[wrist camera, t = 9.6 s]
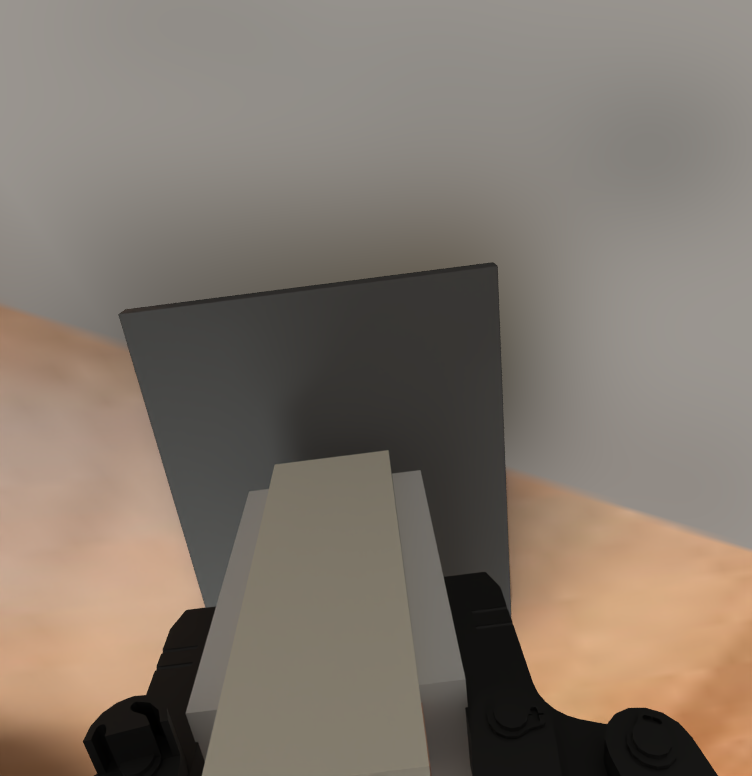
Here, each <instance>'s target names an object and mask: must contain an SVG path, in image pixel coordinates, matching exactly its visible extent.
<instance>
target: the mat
mask: <svg viewBox="0 0 752 776" xmlns="http://www.w3.org/2000/svg"><path fill="white" fill-rule="evenodd" d="M119 318H120V321H121V324H122V328H123V331H124V334H125V338H126V341H127V345H128V348H129V352H130V355H131V358H132V362H133V365H134V368H135V372H136V375H137V378H138V382H139V385H140V389H141V392H142V395H143V399H144V402H145V405H146V409H147V412H148V415H149V419H150V422H151V426H152V429H153V432H154V436H155V439H156V442H157V446H158V449H159V453H160V456H161V459H162V463H163V466H164V469H165V473H166V476H167V479H168V483H169V486H170V490H171V493H172V496H173V500H174V503H175V506H176V510H177V513H178V516H179V520H180V523H181V527H182V530H183V533H184V537H185V540H186V543H187V547H188V550H189V553H190V557H191V560H192V564H193V567H194V570H195V574H196V577H197V580H198V584H199V587H200V590H201V594H202V597H203V601H204V604H205V607H206V608H207V607H215V606H216V605H217V602H218V598H219V595H220V591H221V588H222V584H223V581H224V577H225V574H226V570H227V567H228V563H229V560H230V556H231V553H232V549H233V546H234V542H235V539H236V535H237V532H238V528H239V525H240V521H241V518H242V515H243V511H244V508H245V504H246V501H247V497H248V494H249V491H257V490H265V489H269V486H270V482H271V478H272V474H273V469H274V465H275V464H283V463H291V462H299V461H307V460H315V459H323V458H330V457H338V456H346V455H354V454H362V453H370V452H378V451H386V450H389V458H390V466H391V474H393V473H401V472H409V471H417V470H421V475H422V479H423V484H424V489H425V493H426V498H427V503H428V507H429V512H430V517H431V521H432V526H433V531H434V535H435V540H436V544H437V549H438V554H439V558H440V563H441V568H442V572H443V577H446V576H454V575H462V574H470V573H478V572H486V573H487V574H488V575H489V576H490V577H491V578H492V579H493V580H494V581H495V582H496V583H497V584H498V585H499V586H500V587H501V590H502V593H503V596H504V599H505V602H506V605H507V609H508V611H509V614H510V617H511V599H510V573H509V547H508V522H507V496H506V471H505V447H504V422H503V421H504V420H503V395H502V370H501V347H500V345H501V344H500V319H499V292H498V267H497V265H496V264H494V263H485V264H477V265H470V266H461V267H454V268H446V269H438V270H430V271H422V272H414V273H407V274H399V275H391V276H384V277H376V278H368V279H360V280H353V281H344V282H337V283H329V284H321V285H314V286H305V287H297V288H290V289H283V290H274V291H266V292H259V293H252V294H244V295H235V296H227V297H219V298H212V299H204V300H196V301H189V302H181V303H173V304H165V305H157V306H150V307H141V308H134V309H127V310H124V311H123V312H121V313H120V314H119ZM392 481H393V478H392ZM393 489H394V486H393ZM394 497H395V494H394ZM395 505H396V502H395ZM396 512H397V510H396ZM397 520H398V518H397ZM398 528H399V526H398ZM399 536H400V534H399ZM400 543H401V542H400ZM401 551H402V550H401ZM402 559H403V558H402ZM403 567H404V566H403ZM404 575H405V574H404ZM407 598H408V597H407ZM408 606H409V605H408Z"/></svg>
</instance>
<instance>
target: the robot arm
mask: <svg viewBox="0 0 752 776" xmlns="http://www.w3.org/2000/svg"><path fill="white" fill-rule="evenodd" d="M392 478H393V486H394V494H395V502H396V510H397V518H398V526H399V534H400V542H401V550H402V558H403V566H404V574H405V582H406V590H407V597H408V605H409V613H410V621H411V629H412V637H413V644H414V652H415V660H416V668H417V676H418V683H419V691H420V699H421V703H422V706H423V713H424V721H425V728H426V736H427V744H428V751H429V759H430V767H431V775H432V776H718V775H717V774H716V772H715V771H714V769H713V768H712V766H711V765H710V763H709V762H708V760H707V759H706V757H705V756H704V754H703V753H702V751H701V750H700V748H699V747H698V745H697V744H696V742H695V741H694V740H693V738H692V737H691V736H690V735H689V733H688V732H687V731H686V730H685V729H684V728H683V727H682V726H681V725H680V724H679V723H678V722H677V721H675V720H673V719H672V718H670V717H668V716H667V715H665V714H664V713H661V712H658V711H655V710H651V709H648V708H628V709H625V710H623V711H621V712H618V713H616V714H615V715H614V716H613V717H612V719H611V720H610V721H609V722H608V724H602V723H597V722H592V721H586V720H581V719H577V718H574V717H570V716H567V715H565V714H563V713H561V712H559V711H557V710H555V709H554V708H553V707H551V706H550V705H549V704H548V703H546V702H545V701H544V700H543V698H542V697H541V696H540V695H539V694H538V692H537V690H536V688H535V686H534V684H533V682H532V679H531V676H530V673H529V670H528V667H527V664H526V661H525V658H524V655H523V652H522V649H521V646H520V643H519V640H518V637H517V634H516V631H515V628H514V626H513V624H512V620H511V617H510V614H509V611H508V609H507V605H506V602H505V599H504V596H503V593H502V590H501V587H500V586H499V585H498V584H497V583H496V582H495V581H494V580H493V579H492V578H491V577H490V576H489V575H488V574H487V573H486V572H478V573H470V574H462V575H454V576H446V577H443V572H442V568H441V563H440V558H439V554H438V549H437V544H436V540H435V535H434V531H433V526H432V521H431V517H430V512H429V507H428V503H427V498H426V493H425V489H424V484H423V479H422V475H421V470H417V471H409V472H401V473H393V474H392ZM268 491H269V489H265V490H257V491H249V494H248V497H247V501H246V504H245V508H244V511H243V515H242V518H241V521H240V525H239V528H238V532H237V535H236V539H235V542H234V546H233V549H232V553H231V556H230V560H229V563H228V567H227V570H226V574H225V577H224V581H223V584H222V588H221V591H220V595H219V598H218V602H217V605H216V606H215V607H207V608H199V609H191V610H186V611H185V612H184V613H183V615H182V616H181V617H180V618H179V619H178V621H177V622H176V623H175V624H174V625H173V627H172V628H171V629H170V631H169V634H168V637H167V640H166V642H165V645H164V648H163V654H161V656H160V659H159V661H158V664H157V671H155V672H154V675H153V678H152V680H151V683H150V686H149V689H148V691H147V694H146V695H142V696H133V697H130V698H128V699H125V700H123V701H120V702H118V703H116V704H115V705H113V706H112V707H110V708H109V709H107V710H106V711H105V712H103V713H102V714H101V715H100V716H99V717H98V719H97V720H96V721H95V722H94V723H93V724H92V725H91V726H90V728H89V730H88V732H87V734H86V736H85V738H84V740H83V743H84V745H85V747H86V749H87V752H88V754H89V756H90V758H91V761H92V763H93V765H94V767H95V769H96V772H97V774H96V775H94V776H202V773H203V768H204V764H205V760H206V756H207V751H208V747H209V743H210V739H211V734H212V730H213V726H214V721H215V717H216V713H217V709H218V704H219V700H220V696H221V692H222V687H223V683H224V679H225V674H226V670H227V666H228V662H229V657H230V653H231V649H232V645H233V640H234V636H235V632H236V627H237V623H238V619H239V615H240V610H241V606H242V602H243V598H244V593H245V589H246V585H247V580H248V576H249V572H250V568H251V563H252V559H253V555H254V551H255V546H256V542H257V538H258V533H259V529H260V525H261V521H262V516H263V512H264V508H265V504H266V499H267V495H268Z"/></svg>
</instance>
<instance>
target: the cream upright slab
mask: <svg viewBox="0 0 752 776" xmlns="http://www.w3.org/2000/svg"><path fill="white" fill-rule="evenodd" d="M202 776H432V775H431V767H430V759H429V751H428V744H427V736H426V728H425V721H424V713H423V706H422V703H421V699H420V691H419V683H418V676H417V668H416V660H415V652H414V644H413V637H412V629H411V621H410V613H409V606H408V598H407V590H406V582H405V575H404V567H403V559H402V551H401V543H400V536H399V528H398V520H397V512H396V505H395V497H394V489H393V481H392V474H391V466H390V458H389V450H386V451H378V452H370V453H362V454H354V455H346V456H338V457H330V458H323V459H315V460H307V461H299V462H291V463H283V464H275V465H274V469H273V474H272V478H271V482H270V486H269V491H268V495H267V499H266V504H265V508H264V512H263V516H262V521H261V525H260V529H259V533H258V538H257V542H256V546H255V551H254V555H253V559H252V563H251V568H250V572H249V576H248V580H247V585H246V589H245V593H244V598H243V602H242V606H241V610H240V615H239V619H238V623H237V627H236V632H235V636H234V640H233V645H232V649H231V653H230V657H229V662H228V666H227V670H226V674H225V679H224V683H223V687H222V692H221V696H220V700H219V704H218V709H217V713H216V717H215V721H214V726H213V730H212V734H211V739H210V743H209V747H208V751H207V756H206V760H205V764H204V768H203V773H202Z"/></svg>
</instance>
